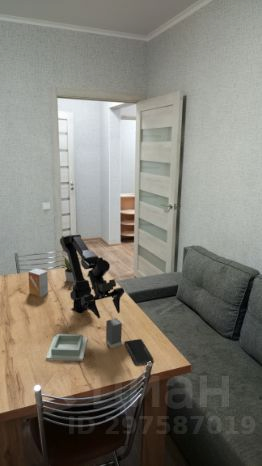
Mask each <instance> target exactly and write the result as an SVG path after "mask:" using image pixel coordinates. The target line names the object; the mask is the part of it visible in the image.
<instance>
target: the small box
mask: <svg viewBox="0 0 262 466" xmlns="http://www.w3.org/2000/svg"><path fill="white" fill-rule="evenodd" d="M27 272H28V274H27V275H28V293H29V295H33V296H36V297H39V298H42V297H43V296H45V295H48V294H49V282H48V281H49V279H48V277H49V276H48V270H44V269H40V268H37V267H36V268H34V269H32V270H31V269H30V271H27Z"/></svg>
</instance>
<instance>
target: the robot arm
mask: <svg viewBox="0 0 262 466" xmlns="http://www.w3.org/2000/svg"><path fill="white" fill-rule="evenodd" d="M59 244H60V245H61V247H62V250H63V251H64V252H65V253H66V255H67V258H68V261H69V263H70V266H71V270H72V274H73V278H74V281H73V285H72V290H71V292H70V293H69V296H70V299H71V300H73V307H72V308H71V311H74V312H76V313H79V314H83V313H85V312H86V311H88V310H90V311H91V312H92V313H93V314H94V316H96V318H97V319H101V315H100V312H99V310H98V306H97V303H96V301H99V300H103V299H106V298H112V300H111V301H112V303H113V305H114V307H115V311H116V312H117V314H120V311H121V310H120V309H121V307H120V306H121V303H120V302H121V298H122V297H123V296H124V294H125V290H124V288H123V287H121V286H120V287H117V282H116V279H115V278H112V279H108V280H109V281H108V282H107V280H106V279H104V276H105V275H106V274H107V272H108V271H109V270H110V268H111V265H110V263H109V262H108V261H107V260H105V259H104V258H103V257H99V256H98V255H97V254H96V253H95V252H93V251H91V250H90V248H88V246H87V244H86V243H85V242H84V240H83V239H82V235H81V233H73V234H68V235H67V234H66V235H62V236H61V238H60V239H59ZM80 257H81V258H82V259H80ZM82 268H83V269H84V270H88V272H87V276H86V277H87V278H88V279H89V280H88V279H86V278H84V274H83V271H82ZM90 284H91V286H90ZM115 287H117V288H115ZM92 290H93V293H94V295H93V294H92Z"/></svg>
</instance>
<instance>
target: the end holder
mask: <svg viewBox="0 0 262 466" xmlns="http://www.w3.org/2000/svg"><path fill="white" fill-rule="evenodd" d="M87 343H88V337H84V334H74V333H73V334H71V333H69V334H67V333H65V334H64V333H57V334H56V336H53V338H52V342H51V344H50V347H49V349H48V350H47V351H48V352H47V354H46V356H45V361H67V362H68V361H70V362H71V361H73V362H75V361H76V362H83V361H84V357H85V353H86V348H87V345H88V344H87Z"/></svg>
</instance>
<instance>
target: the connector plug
mask: <svg viewBox="0 0 262 466" xmlns="http://www.w3.org/2000/svg"><path fill="white" fill-rule="evenodd" d="M122 327H123V323H122V322H121V321H120V320H119V319H118V318H117V317H115V318H112V319H108V320H106V329H105V343H106V344H107V345H108V347H110V349H113V348H116V347H119V346H121V345H123V344H122V343H123V342H122V334H123V333H122V330H123V329H122Z"/></svg>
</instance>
